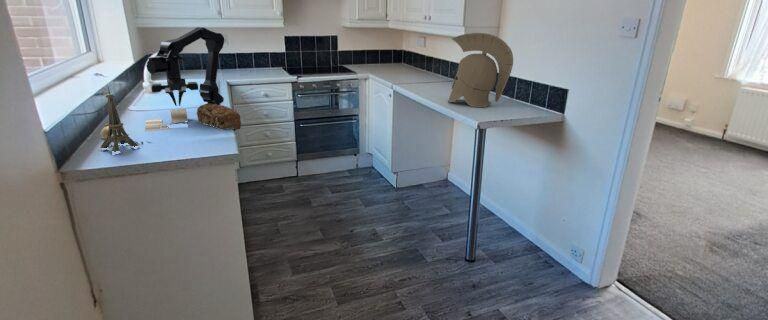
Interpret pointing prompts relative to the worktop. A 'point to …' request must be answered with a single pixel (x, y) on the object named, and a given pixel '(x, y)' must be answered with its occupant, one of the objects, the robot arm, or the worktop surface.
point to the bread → (218, 116)
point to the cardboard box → (157, 127)
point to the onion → (105, 131)
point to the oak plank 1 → (153, 122)
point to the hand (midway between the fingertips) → (177, 105)
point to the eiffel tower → (113, 125)
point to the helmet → (481, 69)
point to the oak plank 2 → (179, 115)
